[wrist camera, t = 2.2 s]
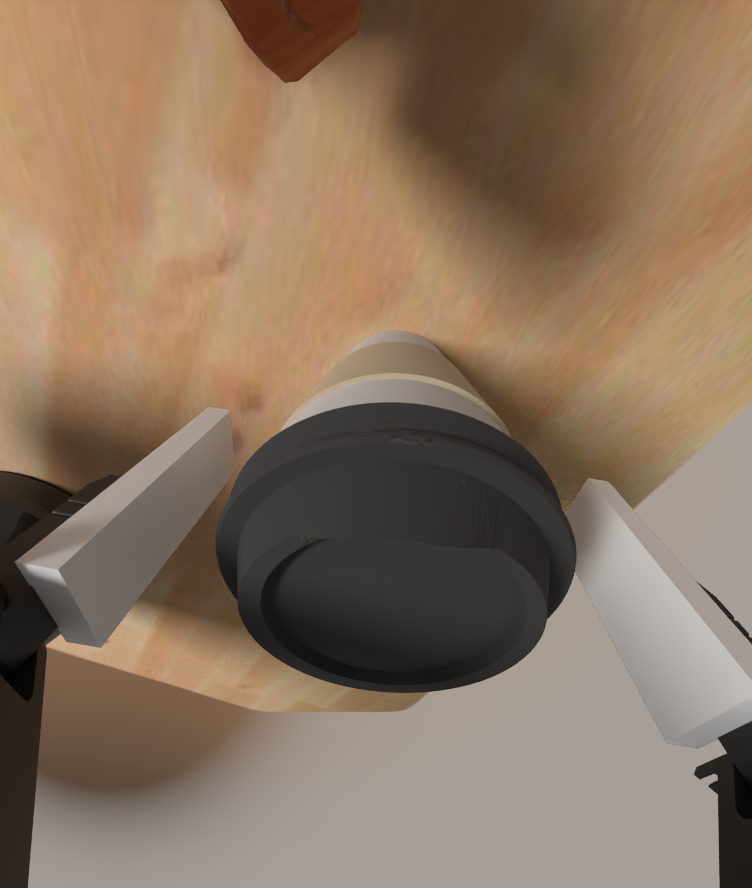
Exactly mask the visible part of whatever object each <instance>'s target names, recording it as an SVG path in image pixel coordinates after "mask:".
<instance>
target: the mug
mask: <svg viewBox="0 0 752 888" xmlns="http://www.w3.org/2000/svg"><path fill="white" fill-rule="evenodd" d="M221 2H222V3H223V5H224V7H225V8H226V10H227V12H228V13H229V15H230V17H231V18H232V20H233V22H234V23H235V25H236V27H237V28H238V30H239V32H240V33H241V35H242V37H243V38H244V41H245V42H246V44H247V45H248V46H249V47H250V48H251V49H252V51H253V52H254V53H255V54H256V55H257V56H258V58H259V59H260V60H261V61H262V62H263V63H264V65H265V66H266V67H268V68H269V69H270V70H271V71H273V72H274V73H275V74H276V75H278V76H279V77H280V79H281V80H283V81H284V82H285V83H288V82H294V81H299V80H300V79H301V78H302V77H304V76H305V75H306V74H307V73H308V72H310V71H311V70H312V69H313V68H314V67H315V66H317V65H318V64H319V63H320V62H321V61H323V60H324V59H325V58H326V57H327V56H329V55H330V54H331V53H332V52H333V51H334V50H336V49H337V48H338V47H339V46H340V45H342V44H343V43H344V42H346V41H347V40H349V39H350V38H352V37H353V36H355V35H356V33H357V31H358V27H359V21H360V15H361V0H221Z"/></svg>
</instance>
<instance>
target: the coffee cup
mask: <svg viewBox="0 0 752 888" xmlns="http://www.w3.org/2000/svg"><path fill="white" fill-rule="evenodd" d="M216 554H217V559H218V563H219V567H220V570H221V573H222V576H223V578H224V580H225V582H226V584H227V586H228V588H229V589H230V591H231V592H232V594H233V595H234V597H235V598H236V599H237V600H238V609H239V613H240V616H241V619H242V621H243V623H244V625H245V627H246V629H247V630H248V632H249V633H250V634H251V636H252V637H253V638H254V639H255V640H256V641H257V642H258V643H259V645H260V646H262V647H263V648H264V649H265V650H266V651H267V652H269V653H270V654H271V655H273V656H274V657H275V658H277V659H279V660H280V661H282V662H283V663H285V664H287V665H289V666H291V667H292V668H294V669H296V670H299V671H301V672H303V673H305V674H308V675H310V676H313V677H315V678H318V679H321V680H324V681H327V682H331V683H334V684H338V685H342V686H347V687H352V688H357V689H363V690H370V691H380V692H395V693H415V692H431V691H439V690H446V689H452V688H456V687H461V686H466V685H469V684H473V683H476V682H480V681H482V680H485V679H488V678H490V677H493V676H495V675H497V674H499V673H501V672H503V671H505V670H507V669H509V668H510V667H512V666H514V665H515V664H516V663H518V662H519V661H521V660H522V659H523V658H524V657H525V656H527V655H528V653H530V652H531V651H532V649H533V648H534V647H535V646H536V644H537V643H538V641H539V640H540V638H541V636H542V634H543V632H544V629H545V625H546V621H547V619H548V618H549V617H550V616H551V615H552V614H553V612H554V611H555V610H556V609H557V608H558V606H559V605H560V604H561V602H562V601H563V599H564V597H565V596H566V594H567V592H568V589H569V587H570V585H571V582H572V579H573V576H574V572H575V567H576V558H577V551H576V543H575V538H574V534H573V531H572V528H571V526H570V523H569V521H568V519H567V517H566V515H565V514H564V512H563V510H562V508H561V503H560V500H559V497H558V494H557V491H556V489H555V487H554V485H553V483H552V481H551V479H550V478H549V476H548V474H547V473H546V471H545V470H544V469H543V467H542V466H541V465H540V464H539V462H538V461H537V460H536V459H535V458H534V457H533V456H532V455H531V454H530V453H529V452H528V451H527V450H526V449H525V448H524V447H523V446H521V445H520V444H519V443H518V442H516V441H515V440H514V439H513V438H512V436H511V434H510V432H509V430H508V429H507V427H506V426H505V424H504V423H503V422H502V420H501V419H500V418H499V417H498V416H497V415H496V413H495V412H494V411H493V410H492V409H491V407H490V406H489V405H488V404H487V403H486V402H485V400H484V399H483V398H482V397H481V396H480V395H479V393H478V392H477V391H476V390H475V389H474V388H473V386H472V385H471V384H470V383H469V382H468V380H467V379H466V378H465V377H464V376H463V375H462V373H461V372H460V371H459V370H458V369H457V368H456V367H455V366H454V365H453V364H452V363H451V362H450V361H449V360H448V359H447V358H445V357H444V356H443V354H442V353H441V352H440V351H439V350H438V348H437V347H435V346H434V345H433V344H432V343H431V342H429V341H428V340H426V339H425V338H423V337H421V336H418V335H416V334H413V333H409V332H403V331H387V332H382V333H378V334H375V335H372V336H370V337H368V338H366V339H364V340H363V341H361V342H360V343H359V344H357V345H356V346H355V347H354V348H353V349H352V350H351V351H350V353H349V354H348V355H347V356H346V357H345V358H344V359H342V360H341V361H340V362H339V363H338V364H337V365H336V366H335V367H334V368H333V369H332V370H331V371H330V372H329V373H328V375H327V376H326V377H325V378H324V379H323V380H322V381H321V382H320V384H319V385H318V386H317V387H316V388H315V389H314V390H313V391H312V393H311V394H310V395H309V396H308V397H307V398H306V399H305V400H304V402H303V403H302V404H301V405H300V406H299V407H298V408H297V409H296V411H295V412H294V413H293V414H292V415H291V416H290V417H289V419H288V420H287V421H286V423H285V424H284V426H283V427H282V429H281V431H280V432H279V433H278V434H277V435H275V436H274V437H272V438H271V439H270V440H268V441H267V442H266V443H265V444H264V445H262V446H261V447H260V448H259V449H258V450H257V451H256V452H255V453H254V454H253V455H252V457H251V458H250V459H249V460H248V462H247V463H246V464H245V466H244V467H243V469H242V470H241V472H240V474H239V475H238V477H237V480H236V482H235V484H234V487H233V489H232V492H231V496H230V499H229V501H228V502H227V504H226V506H225V508H224V510H223V512H222V514H221V516H220V519H219V522H218V526H217V531H216Z"/></svg>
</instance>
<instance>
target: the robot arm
mask: <svg viewBox="0 0 752 888" xmlns="http://www.w3.org/2000/svg"><path fill="white" fill-rule="evenodd" d="M234 473H235V463H234V450H233V436H232V423H231V411H230V410H225V409H220V408H215V407H208V408H207V409H205V410H204V411H203V412H202V413H200V414H199V415H198V416H197V417H195V418H194V419H193V420H192V421H190V422H189V423H188V424H187V425H185V426H184V427H183V428H182V429H180V430H179V431H178V432H177V433H175V434H174V435H173V436H172V437H170V438H169V439H168V440H167V441H165V442H164V443H163V444H162V445H160V446H159V447H158V448H157V449H155V450H154V451H153V452H152V453H150V454H149V455H148V456H147V457H145V458H144V459H143V460H142V461H140V462H139V463H138V464H137V465H135V466H134V467H133V468H132V469H130V470H129V471H128V472H127V473H125V474H124V475H123V476H122V477H120V476H114V475H109V476H107V477H104V478H102V479H100V480H98V481H95V482H93V483H91V484H88V485H87V486H85V487H84V488H82V489H81V490H80V491H78V492H77V493H76V494H74V495H73V496H70V495H68V494H66V493H65V492H63V491H61V490H59V489H56V488H54V487H52V486H50V485H47V484H45V483H42V482H40V481H37V480H34V479H31V478H28V477H24V476H21V475H16V474H12V473H6V472H0V888H28V877H29V864H30V852H31V840H32V827H33V815H34V803H35V791H36V779H37V766H38V753H39V741H40V730H41V717H42V706H43V693H44V681H45V669H46V657H47V651H46V646H45V645H47V644H48V643H49V642H51V641H52V640H53V639H55V638H56V637H57V636H59V635H60V634H62V636H63V637H64V639H65V640H66V642H70V643H76V644H82V645H88V646H94V647H100V648H101V647H102V646H103V644H104V643H105V642H106V640H107V639H108V638H109V637H110V635H111V634H112V633H113V631H114V630H115V629H116V627H117V626H118V625H119V623H120V622H121V621H122V620H123V618H124V617H125V616H126V614H127V613H128V612H129V610H130V609H131V608H132V606H133V605H134V604H135V602H136V601H137V600H138V599H139V597H140V596H141V595H142V593H143V592H144V591H145V589H146V588H147V587H148V585H149V584H150V583H151V582H152V580H153V579H154V578H155V576H156V575H157V574H158V572H159V571H160V570H161V568H162V567H163V566H164V565H165V563H166V562H167V561H168V559H169V558H170V557H171V555H172V554H173V553H174V551H175V550H176V549H177V547H178V546H179V545H180V544H181V542H182V541H183V540H184V538H185V537H186V536H187V534H188V533H189V532H190V530H191V529H192V528H193V527H194V525H195V524H196V523H197V521H198V520H199V519H200V517H201V516H202V515H203V513H204V512H205V511H206V510H207V508H208V507H209V506H210V504H211V503H212V502H213V500H214V499H215V498H216V496H217V495H218V494H219V492H220V491H221V490H222V489H223V487H224V486H225V485H226V483H227V482H228V481H229V479H230V478H231V477H232V475H233V474H234ZM565 515H566V517H567V519H568V521H569V523H570V526H571V528H572V531H573V534H574V538H575V543H576V551H577V558H576V567H575V572H576V574H577V576H578V577H579V579H580V581H581V583H582V585H583V587H584V589H585V591H586V592H587V594H588V596H589V598H590V600H591V602H592V604H593V606H594V608H595V610H596V611H597V613H598V615H599V617H600V619H601V621H602V623H603V625H604V626H605V628H606V630H607V632H608V634H609V636H610V638H611V640H612V642H613V643H614V645H615V647H616V649H617V651H618V653H619V654H620V656H621V658H622V660H623V662H624V664H625V666H626V668H627V669H628V672H629V674H630V675H631V677H632V679H633V681H634V683H635V685H636V687H637V689H638V691H639V692H640V694H641V696H642V698H643V700H644V702H645V704H646V706H647V707H648V709H649V711H650V713H651V715H652V716H653V719H654V721H655V723H656V724H657V726H658V728H659V730H660V732H661V734H662V736H663V738H664V739H665V741H666V743H668V744H674V745H680V746H686V747H692V748H700V747H702V746H704V745H706V744H708V743H710V742H712V741H714V740H716V739H719V741H720V742H721V744H722V746H723V747H724V749H725V750H726V752H727V754H725V755H722V756H720V757H718V758H716V759H714V760H711V761H709V762H707V763H705V764H703V765H700V766H698V767H697V768H696V770H695V773H694V775H695V776H696V777H698V778H699V779H702V778H704V777H707V776H709V775H712V774H716V775H718V781H715V782H713V783H711V784H710V785H709V787H710V788H711V789H712V790H713V791H714V792H716V793H717V794H718V817H719V875H720V888H752V638H750V637H749V633H747V631H746V630H745V629H744V628H743V627H742V626H741V624H740V623H739V622H738V621H734V617H733V616H732V615H731V613H730V612H729V611H728V610H727V609H726V608H725V607H724V606H723V604H722V603H721V602H720V601H719V600H718V599H717V598H716V597H715V596H714V595H713V594H711V593H710V592H709V591H708V590H706V589H705V588H704V587H703V586H702V585H700V584H699V583H698V582H696V580H695V579H694V578H693V577H692V576H691V575H690V574H689V573H688V572H687V570H686V569H685V568H684V567H683V566H682V565H681V563H680V562H678V560H677V559H676V558H675V557H674V556H673V554H672V553H671V552H670V551H669V550H668V549H667V548H666V546H665V545H664V544H663V543H662V542H661V541H660V540H659V538H658V537H657V536H656V535H655V534H654V533H653V532H652V531H651V529H650V528H649V527H648V526H647V525H646V524H645V523H644V522H643V520H642V519H641V518H640V517H639V516H638V515H637V514H636V512H635V511H634V510H633V509H632V508H631V507H630V506H629V504H628V503H627V502H626V501H625V500H624V499H623V498H622V496H621V495H620V494H619V493H618V492H617V491H616V490H615V488H614V487H613V486H612V485H611V484H610V483H609V482H608V481H603V480H597V479H592V478H588V479H587V480H586V482H585V483H584V485H583V486H582V488H581V489H580V491H579V492H578V494H577V496H576V497H575V499H574V500H573V502H572V503H571V505H570V506H569V508H568V509H567V511H566V512H565Z"/></svg>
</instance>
